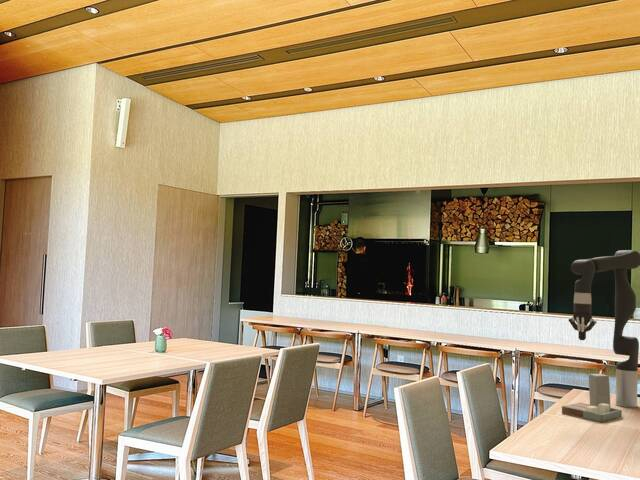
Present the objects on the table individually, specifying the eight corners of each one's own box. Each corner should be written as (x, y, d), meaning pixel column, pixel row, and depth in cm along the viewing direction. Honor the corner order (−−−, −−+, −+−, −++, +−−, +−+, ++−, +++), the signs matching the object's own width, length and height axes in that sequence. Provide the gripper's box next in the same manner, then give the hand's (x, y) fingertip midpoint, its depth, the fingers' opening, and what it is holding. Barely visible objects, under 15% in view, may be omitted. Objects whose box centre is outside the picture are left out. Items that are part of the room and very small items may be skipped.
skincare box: (610, 410, 276) (611, 376, 277) (595, 410, 276) (595, 375, 277) (602, 406, 285) (603, 373, 285) (587, 406, 285) (588, 372, 286)
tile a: (603, 403, 268) (609, 404, 266) (602, 413, 268) (609, 414, 266) (598, 404, 265) (605, 405, 263) (598, 414, 265) (604, 415, 263)
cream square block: (591, 405, 262) (598, 407, 259) (591, 416, 261) (597, 417, 259) (585, 406, 259) (592, 408, 256) (585, 417, 259) (592, 418, 256)
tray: (603, 413, 270) (603, 406, 270) (621, 417, 263) (621, 410, 264) (582, 418, 259) (583, 410, 259) (601, 422, 252) (601, 414, 252)
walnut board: (580, 409, 277) (580, 402, 277) (601, 413, 270) (601, 406, 270) (561, 413, 267) (561, 406, 268) (583, 417, 260) (583, 410, 260)
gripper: (600, 303, 276) (600, 341, 275) (573, 301, 286) (572, 338, 285) (592, 303, 271) (592, 342, 270) (565, 301, 281) (564, 338, 280)
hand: (582, 340), depth 278 cm, fingers closed
